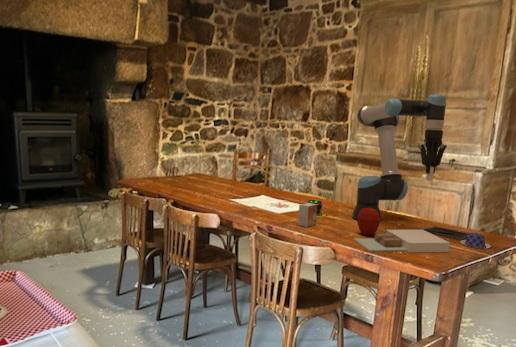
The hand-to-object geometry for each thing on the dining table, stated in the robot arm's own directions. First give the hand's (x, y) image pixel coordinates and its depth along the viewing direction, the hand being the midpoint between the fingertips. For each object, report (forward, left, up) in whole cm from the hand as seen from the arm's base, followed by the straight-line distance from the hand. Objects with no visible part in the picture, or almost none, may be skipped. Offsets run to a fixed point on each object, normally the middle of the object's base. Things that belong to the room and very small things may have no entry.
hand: (429, 180), depth 185 cm
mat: (+13, -29, -26) cm, 41 cm away
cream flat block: (+13, -12, -26) cm, 32 cm away
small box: (-21, -51, -27) cm, 61 cm away
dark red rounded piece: (-3, -27, -27) cm, 38 cm away
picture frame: (-3, +14, -27) cm, 31 cm away
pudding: (+14, +16, -27) cm, 34 cm away
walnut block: (+13, -25, -26) cm, 38 cm away
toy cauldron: (-44, -40, -27) cm, 65 cm away
